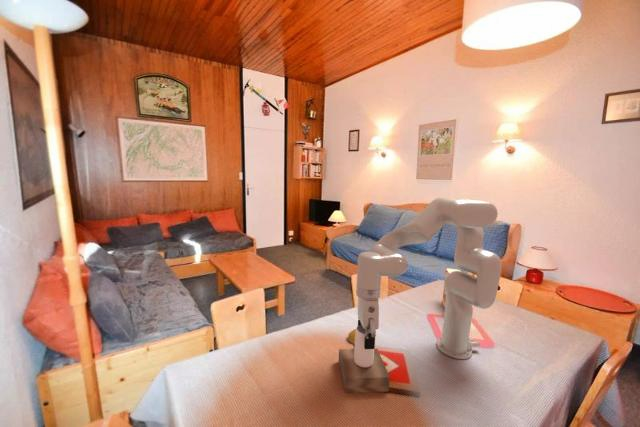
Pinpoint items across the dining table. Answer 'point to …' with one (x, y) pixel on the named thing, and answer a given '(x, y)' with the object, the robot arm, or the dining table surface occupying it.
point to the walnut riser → (363, 373)
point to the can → (362, 349)
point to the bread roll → (352, 336)
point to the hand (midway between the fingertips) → (365, 339)
